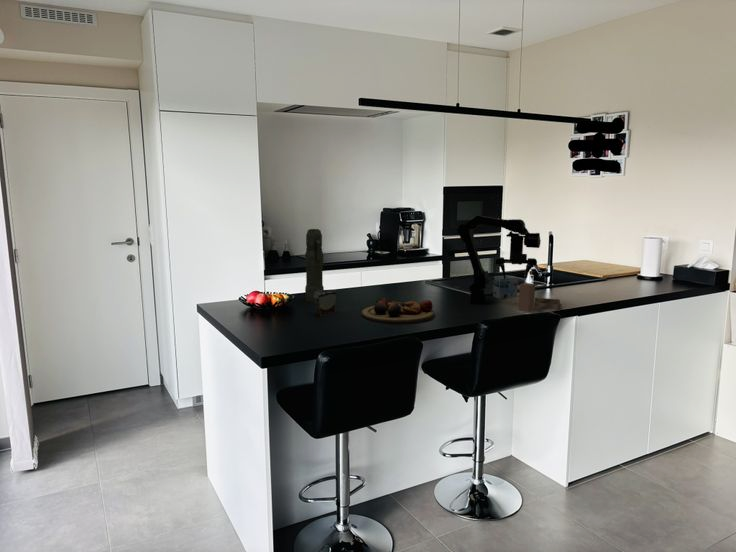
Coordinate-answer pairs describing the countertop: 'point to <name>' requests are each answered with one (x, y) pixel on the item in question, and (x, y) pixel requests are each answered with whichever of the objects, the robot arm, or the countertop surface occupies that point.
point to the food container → (325, 302)
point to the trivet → (524, 311)
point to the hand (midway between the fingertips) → (514, 279)
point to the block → (526, 297)
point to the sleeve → (547, 304)
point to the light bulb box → (505, 287)
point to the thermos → (313, 264)
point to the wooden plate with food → (399, 312)
